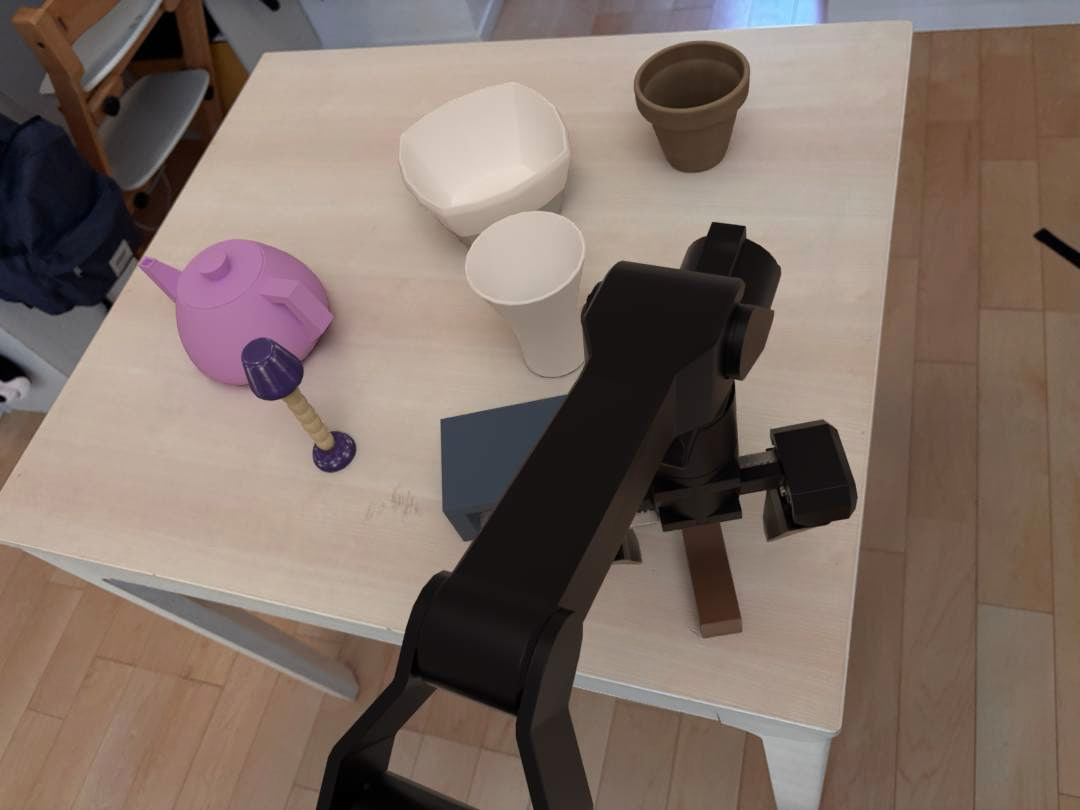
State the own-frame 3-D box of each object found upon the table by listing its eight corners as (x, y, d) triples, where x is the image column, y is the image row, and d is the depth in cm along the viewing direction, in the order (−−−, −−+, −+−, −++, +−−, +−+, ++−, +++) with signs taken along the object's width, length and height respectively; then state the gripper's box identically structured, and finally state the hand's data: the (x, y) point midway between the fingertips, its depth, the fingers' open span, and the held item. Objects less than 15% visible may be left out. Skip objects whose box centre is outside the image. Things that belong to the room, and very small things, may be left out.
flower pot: (709, 102, 98) (703, 22, 90) (773, 151, 92) (774, 71, 84) (624, 151, 97) (611, 75, 89) (684, 205, 90) (675, 128, 82)
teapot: (385, 295, 93) (339, 215, 83) (314, 415, 86) (255, 343, 76) (227, 265, 101) (169, 189, 91) (151, 372, 94) (79, 302, 84)
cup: (559, 414, 80) (526, 324, 69) (482, 362, 85) (439, 270, 74) (632, 337, 83) (611, 239, 72) (552, 292, 88) (521, 194, 77)
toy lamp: (353, 424, 84) (274, 318, 71) (368, 459, 82) (289, 356, 68) (309, 447, 84) (220, 345, 70) (323, 483, 81) (233, 385, 68)
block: (742, 632, 65) (741, 619, 63) (702, 638, 66) (700, 625, 63) (721, 536, 70) (719, 520, 67) (684, 542, 70) (681, 527, 68)
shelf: (694, 501, 72) (689, 466, 67) (463, 541, 75) (442, 511, 70) (675, 411, 77) (669, 373, 72) (460, 452, 80) (440, 418, 75)
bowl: (459, 295, 90) (430, 232, 83) (406, 197, 101) (376, 133, 93) (609, 221, 92) (595, 152, 84) (542, 131, 102) (523, 63, 94)
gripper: (815, 292, 52) (805, 427, 65) (515, 354, 55) (563, 472, 67) (871, 449, 46) (849, 564, 59) (529, 511, 48) (579, 609, 61)
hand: (702, 546), depth 62 cm, fingers open, 9 cm apart
